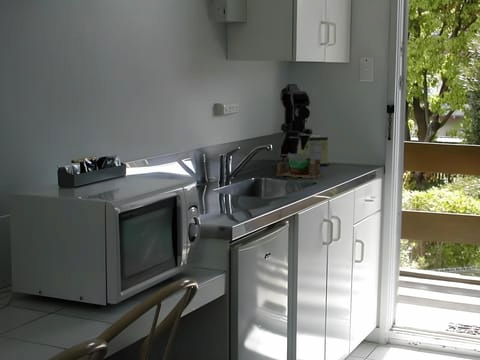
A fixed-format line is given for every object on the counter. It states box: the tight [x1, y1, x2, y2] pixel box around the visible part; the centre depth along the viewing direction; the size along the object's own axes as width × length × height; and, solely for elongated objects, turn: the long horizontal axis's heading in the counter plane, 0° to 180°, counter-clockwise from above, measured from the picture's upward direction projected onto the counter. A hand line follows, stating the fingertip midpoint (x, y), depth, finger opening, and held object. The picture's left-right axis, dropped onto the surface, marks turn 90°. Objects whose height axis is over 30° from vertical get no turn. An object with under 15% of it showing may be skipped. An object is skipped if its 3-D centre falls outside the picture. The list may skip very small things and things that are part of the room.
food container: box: [287, 152, 312, 175], centre depth 349 cm, size 12×6×10 cm, turn 62°
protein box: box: [299, 134, 329, 167], centre depth 391 cm, size 10×16×16 cm
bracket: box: [275, 157, 322, 179], centre depth 351 cm, size 10×19×8 cm, turn 62°
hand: (298, 150), depth 349 cm, fingers open, 9 cm apart
